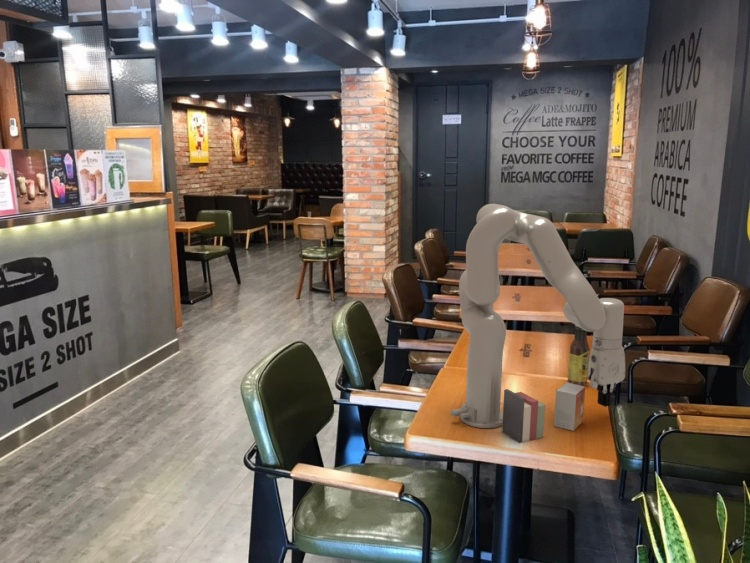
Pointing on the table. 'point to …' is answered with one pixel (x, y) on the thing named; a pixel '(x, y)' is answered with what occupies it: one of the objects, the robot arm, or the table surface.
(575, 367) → the sauce bottle
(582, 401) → the small box
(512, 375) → the table surface
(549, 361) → the table surface
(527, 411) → the book row
